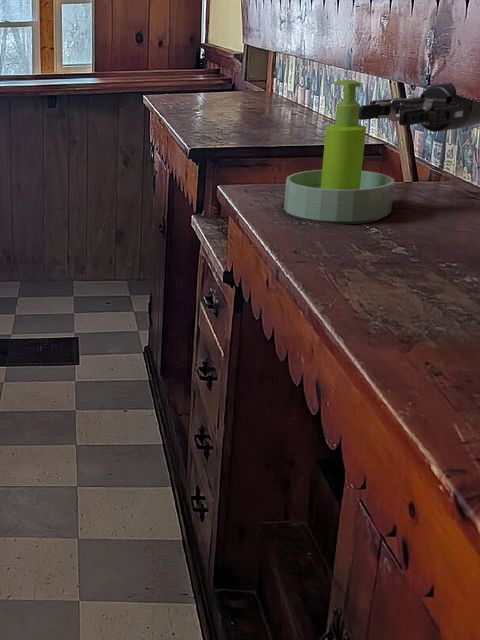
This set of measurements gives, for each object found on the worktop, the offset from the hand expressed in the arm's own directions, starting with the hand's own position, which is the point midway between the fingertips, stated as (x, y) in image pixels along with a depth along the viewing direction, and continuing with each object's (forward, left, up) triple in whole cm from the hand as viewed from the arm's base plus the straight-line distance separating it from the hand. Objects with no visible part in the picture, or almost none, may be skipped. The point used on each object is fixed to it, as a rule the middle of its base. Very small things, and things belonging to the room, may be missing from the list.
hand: (380, 115), depth 137 cm
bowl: (+4, +6, -15) cm, 16 cm away
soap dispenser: (+4, +6, -14) cm, 16 cm away
